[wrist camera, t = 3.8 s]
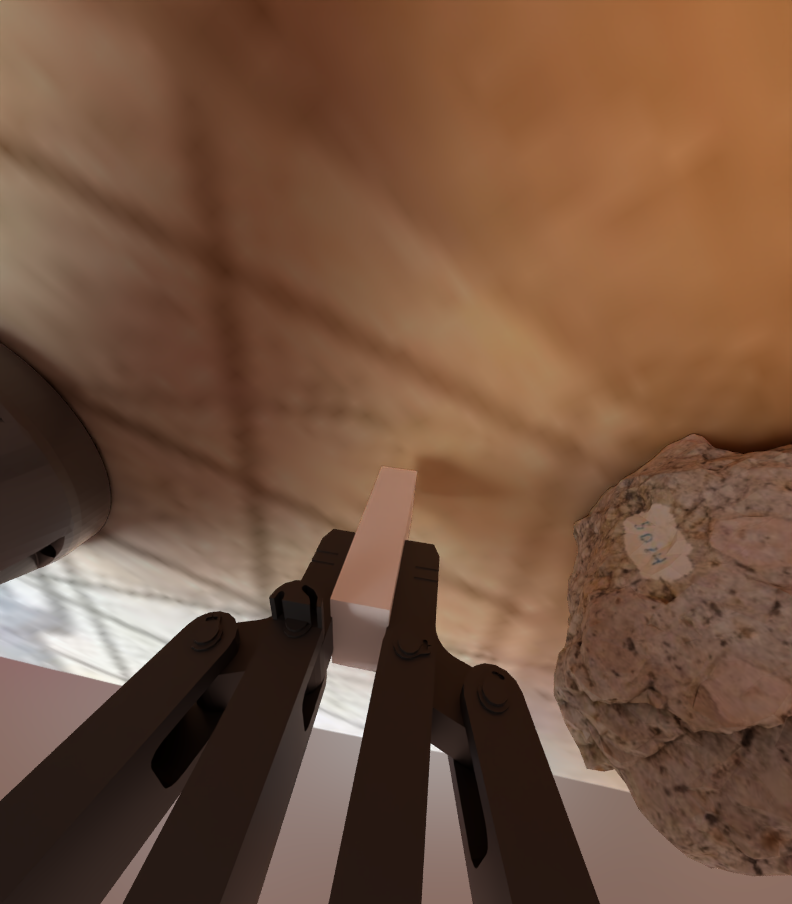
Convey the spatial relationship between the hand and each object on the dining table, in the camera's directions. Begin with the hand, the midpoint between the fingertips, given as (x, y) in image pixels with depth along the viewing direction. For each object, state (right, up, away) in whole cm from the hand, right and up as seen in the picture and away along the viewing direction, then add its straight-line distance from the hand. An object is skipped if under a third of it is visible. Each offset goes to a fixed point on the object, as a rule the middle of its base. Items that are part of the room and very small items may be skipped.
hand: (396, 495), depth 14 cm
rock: (+12, 0, +1) cm, 12 cm away
